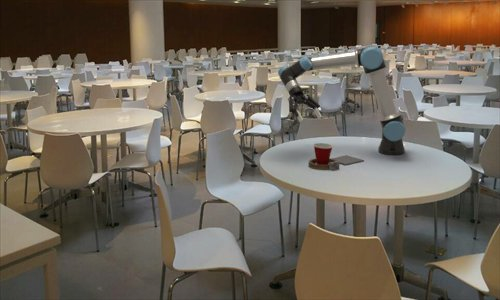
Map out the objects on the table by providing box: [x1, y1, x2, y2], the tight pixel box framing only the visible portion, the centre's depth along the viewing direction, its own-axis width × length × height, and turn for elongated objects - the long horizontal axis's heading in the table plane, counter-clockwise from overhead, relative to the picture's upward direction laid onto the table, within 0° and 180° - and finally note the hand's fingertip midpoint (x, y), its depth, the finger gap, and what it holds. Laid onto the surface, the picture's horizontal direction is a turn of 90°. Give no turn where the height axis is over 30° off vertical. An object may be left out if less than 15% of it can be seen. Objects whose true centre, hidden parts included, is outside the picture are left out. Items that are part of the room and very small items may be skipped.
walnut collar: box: [308, 157, 340, 172], centre depth 273 cm, size 15×18×4 cm
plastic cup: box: [312, 142, 334, 165], centre depth 273 cm, size 11×11×12 cm
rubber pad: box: [330, 154, 365, 166], centre depth 283 cm, size 14×14×1 cm
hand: (311, 119), depth 277 cm, fingers open, 13 cm apart
